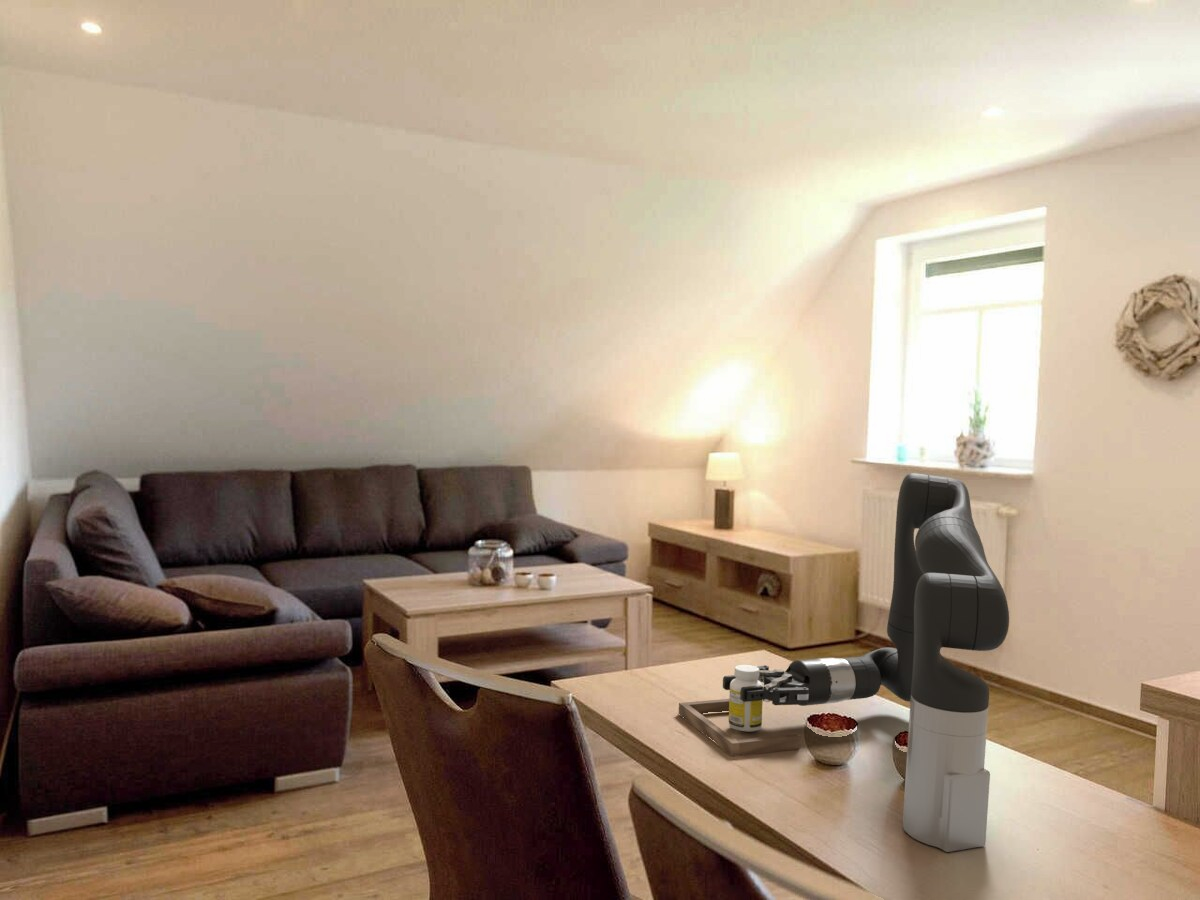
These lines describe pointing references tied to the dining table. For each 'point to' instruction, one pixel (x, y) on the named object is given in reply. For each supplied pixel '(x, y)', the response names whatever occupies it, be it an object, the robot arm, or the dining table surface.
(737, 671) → the supplement bottle
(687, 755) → the dining table surface
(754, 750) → the walnut tray
